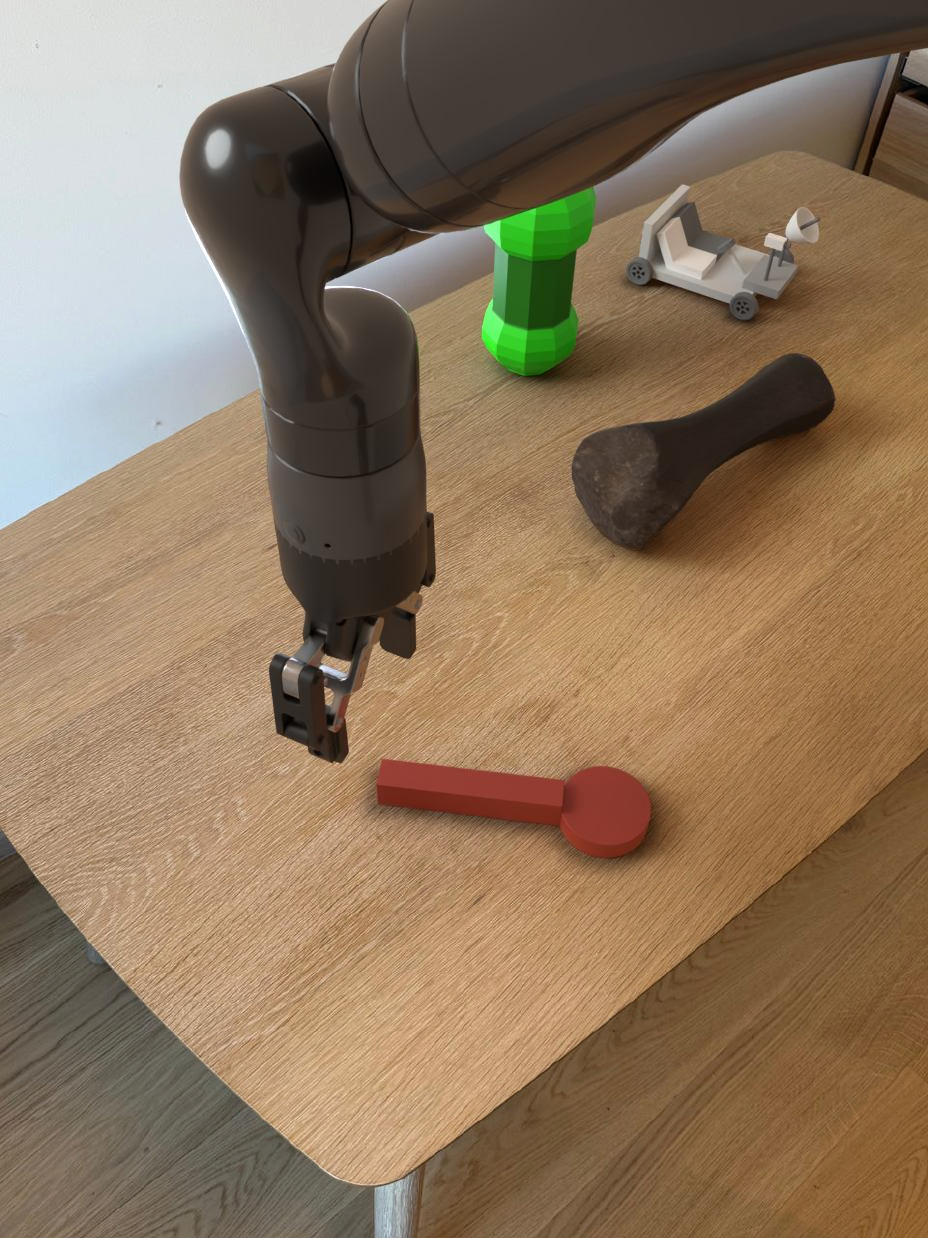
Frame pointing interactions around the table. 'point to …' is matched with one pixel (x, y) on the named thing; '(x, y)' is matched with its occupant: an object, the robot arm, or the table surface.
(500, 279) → the plastic bottle
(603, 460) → the dark brown bone
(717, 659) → the table surface
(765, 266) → the toy car
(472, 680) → the table surface
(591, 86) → the robot arm
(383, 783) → the red flat paddle piece
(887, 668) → the table surface
